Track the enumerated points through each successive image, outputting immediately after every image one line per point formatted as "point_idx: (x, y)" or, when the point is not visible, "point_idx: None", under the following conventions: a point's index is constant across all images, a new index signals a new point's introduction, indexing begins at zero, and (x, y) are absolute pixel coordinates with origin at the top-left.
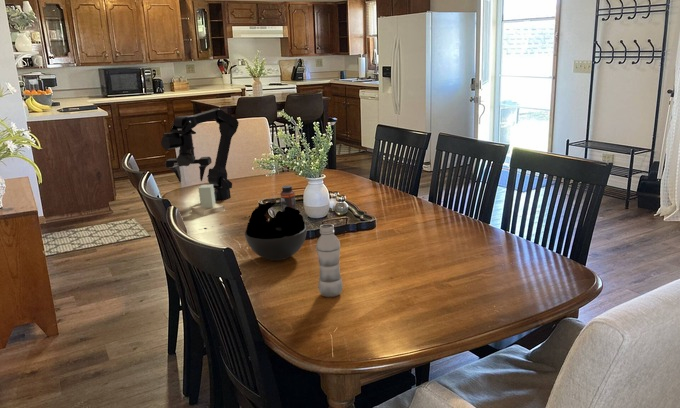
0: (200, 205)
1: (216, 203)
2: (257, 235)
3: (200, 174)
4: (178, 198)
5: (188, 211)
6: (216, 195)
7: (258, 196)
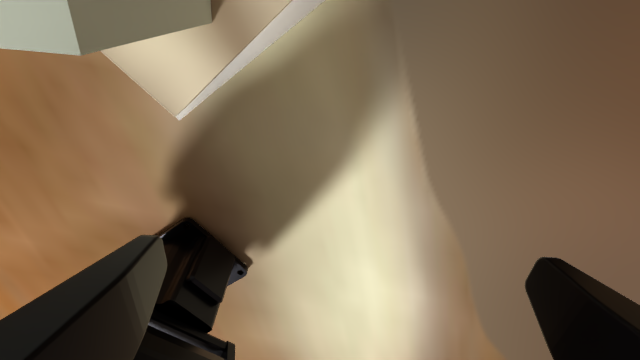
0: (251, 22)
1: (106, 55)
2: None
3: (23, 344)
4: (457, 344)
5: (376, 80)
6: (198, 265)
7: (12, 298)
